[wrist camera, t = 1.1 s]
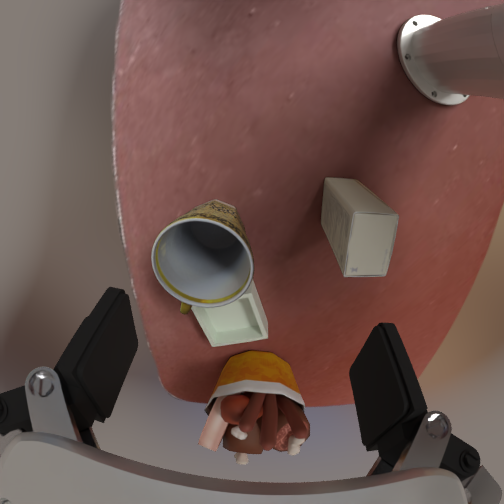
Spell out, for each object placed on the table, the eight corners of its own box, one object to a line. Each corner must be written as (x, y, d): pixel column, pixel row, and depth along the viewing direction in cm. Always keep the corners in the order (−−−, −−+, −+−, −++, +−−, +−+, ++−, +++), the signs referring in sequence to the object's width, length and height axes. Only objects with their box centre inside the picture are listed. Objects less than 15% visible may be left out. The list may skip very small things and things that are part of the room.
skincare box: (352, 224, 34) (386, 279, 23) (318, 224, 34) (342, 279, 23) (358, 177, 31) (402, 214, 20) (322, 175, 31) (353, 212, 20)
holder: (252, 277, 38) (251, 292, 35) (267, 322, 42) (268, 338, 39) (194, 289, 40) (189, 304, 37) (215, 331, 44) (212, 346, 41)
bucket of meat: (284, 397, 53) (286, 481, 36) (207, 385, 52) (193, 472, 35) (320, 336, 44) (339, 446, 26) (221, 319, 42) (202, 437, 25)
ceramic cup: (192, 174, 32) (165, 201, 23) (269, 205, 33) (272, 243, 24) (164, 260, 38) (138, 306, 29) (230, 285, 39) (222, 337, 30)
